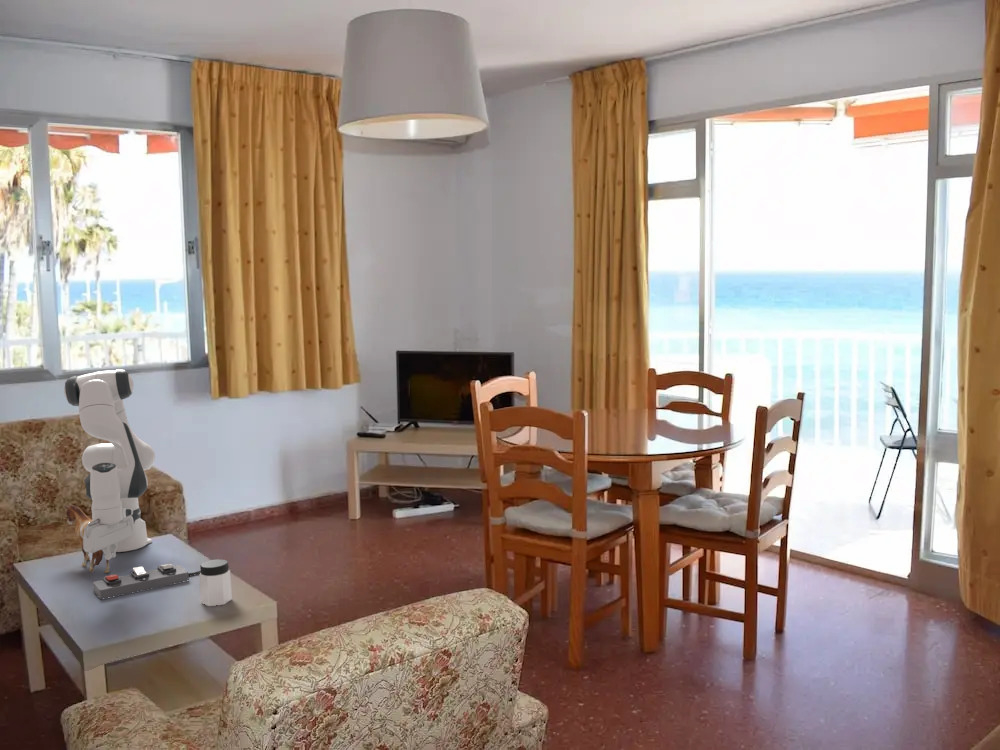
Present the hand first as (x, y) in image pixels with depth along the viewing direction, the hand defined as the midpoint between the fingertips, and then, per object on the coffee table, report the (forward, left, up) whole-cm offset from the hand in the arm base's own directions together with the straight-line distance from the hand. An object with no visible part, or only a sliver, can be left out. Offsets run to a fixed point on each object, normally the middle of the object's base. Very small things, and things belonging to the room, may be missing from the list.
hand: (110, 558), depth 291 cm
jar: (+30, +23, -11) cm, 39 cm away
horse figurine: (-30, -3, -11) cm, 33 cm away
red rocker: (-2, 0, -7) cm, 7 cm away
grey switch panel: (0, +12, -11) cm, 16 cm away
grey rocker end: (-2, +17, -7) cm, 19 cm away
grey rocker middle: (-2, +9, -7) cm, 12 cm away
